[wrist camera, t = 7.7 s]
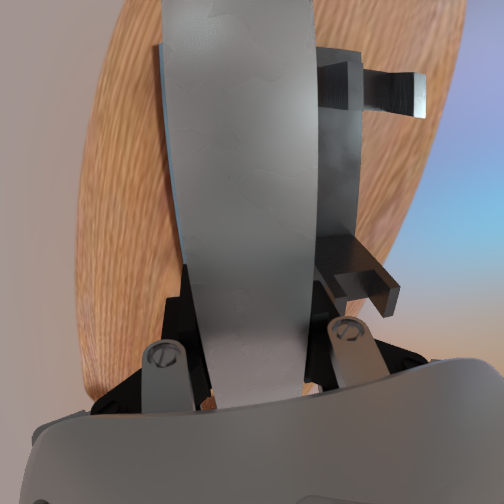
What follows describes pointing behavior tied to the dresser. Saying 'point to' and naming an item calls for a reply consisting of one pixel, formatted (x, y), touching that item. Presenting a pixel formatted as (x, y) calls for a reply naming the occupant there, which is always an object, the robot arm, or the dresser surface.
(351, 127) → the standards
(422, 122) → the dresser surface
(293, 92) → the rail
